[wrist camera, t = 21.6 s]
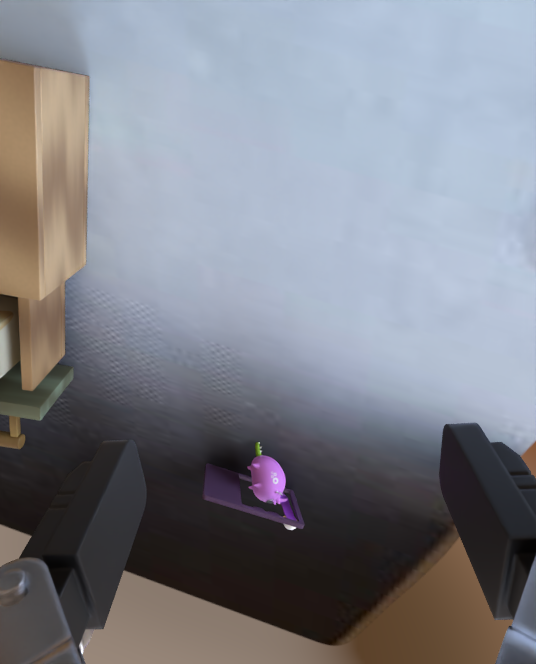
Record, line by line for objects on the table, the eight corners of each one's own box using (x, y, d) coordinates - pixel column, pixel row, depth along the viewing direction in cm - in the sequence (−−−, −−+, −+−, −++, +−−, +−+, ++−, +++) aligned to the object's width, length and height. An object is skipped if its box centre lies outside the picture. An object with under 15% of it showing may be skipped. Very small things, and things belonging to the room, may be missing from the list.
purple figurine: (199, 507, 39) (300, 537, 40) (220, 449, 39) (322, 481, 40) (202, 473, 46) (289, 500, 47) (220, 423, 45) (307, 452, 47)
